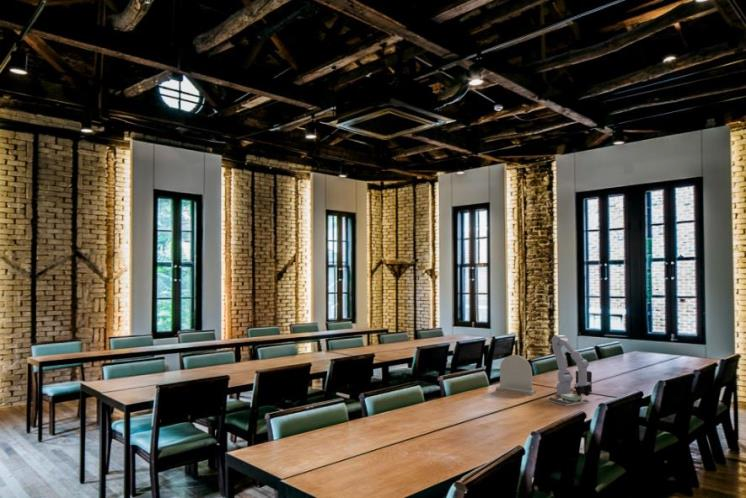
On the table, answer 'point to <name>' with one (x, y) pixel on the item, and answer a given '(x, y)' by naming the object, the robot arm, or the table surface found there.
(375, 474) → the table surface
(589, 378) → the calculator
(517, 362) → the award
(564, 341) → the robot arm
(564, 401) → the dock
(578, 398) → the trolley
